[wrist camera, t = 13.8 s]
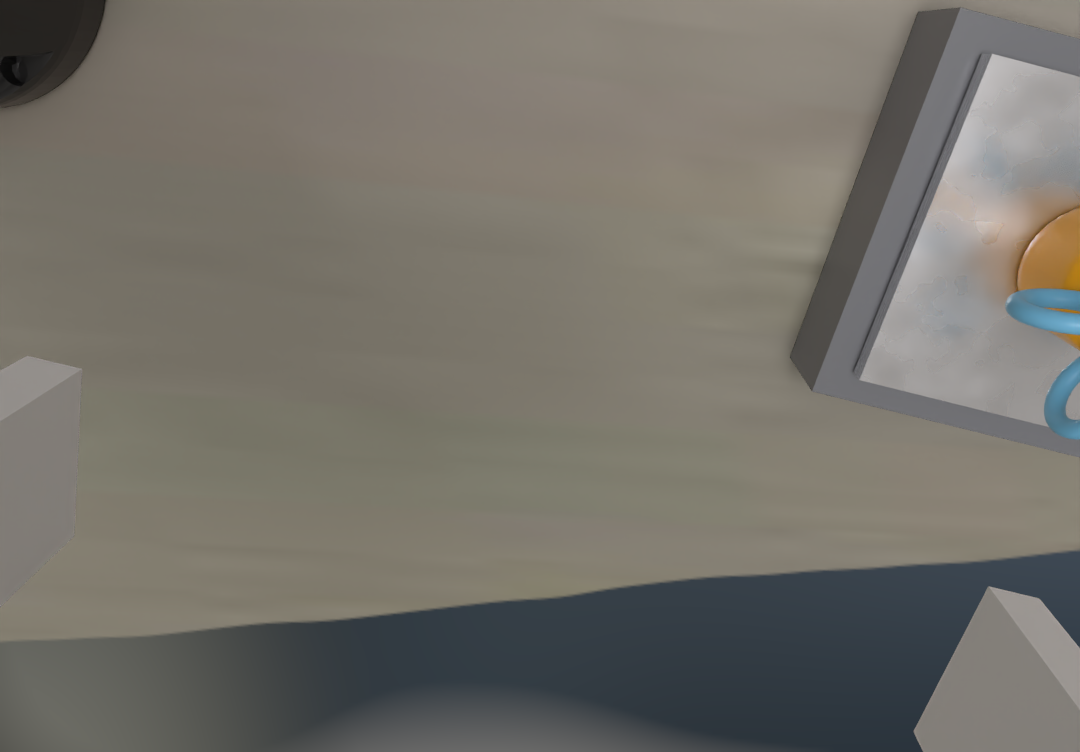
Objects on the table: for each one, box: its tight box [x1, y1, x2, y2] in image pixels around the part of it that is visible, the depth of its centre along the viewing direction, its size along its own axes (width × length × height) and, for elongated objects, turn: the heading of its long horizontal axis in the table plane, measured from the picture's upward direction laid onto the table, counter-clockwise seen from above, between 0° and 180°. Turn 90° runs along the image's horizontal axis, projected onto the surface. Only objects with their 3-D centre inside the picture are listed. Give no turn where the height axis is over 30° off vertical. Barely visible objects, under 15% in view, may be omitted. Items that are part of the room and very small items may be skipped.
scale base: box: [790, 8, 1080, 457], centre depth 42 cm, size 19×18×5 cm
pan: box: [853, 54, 1080, 427], centre depth 41 cm, size 15×15×5 cm
